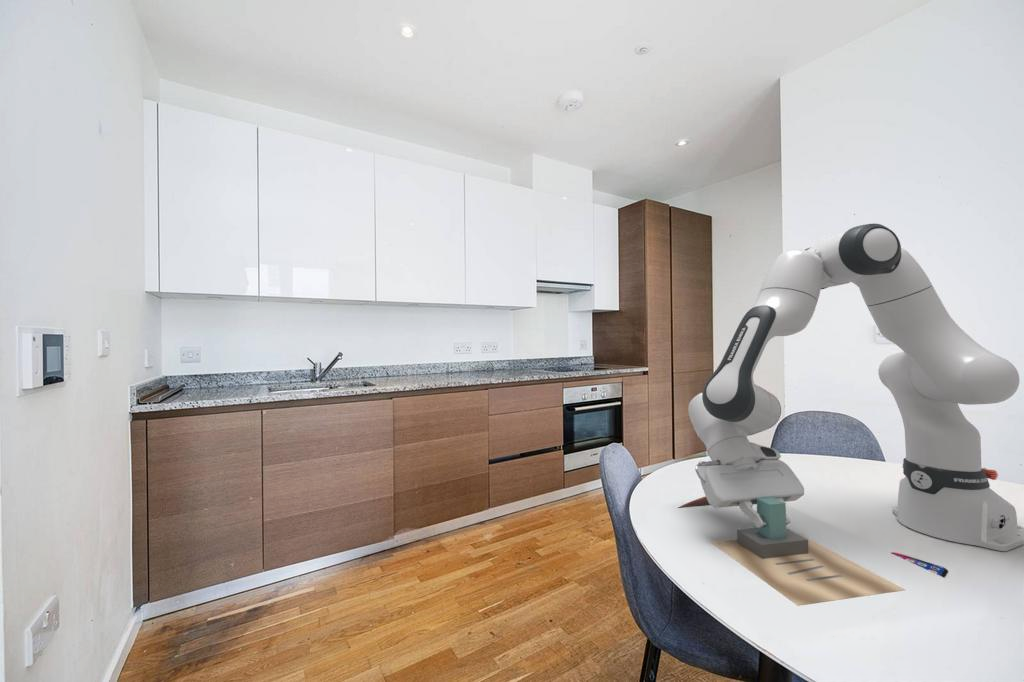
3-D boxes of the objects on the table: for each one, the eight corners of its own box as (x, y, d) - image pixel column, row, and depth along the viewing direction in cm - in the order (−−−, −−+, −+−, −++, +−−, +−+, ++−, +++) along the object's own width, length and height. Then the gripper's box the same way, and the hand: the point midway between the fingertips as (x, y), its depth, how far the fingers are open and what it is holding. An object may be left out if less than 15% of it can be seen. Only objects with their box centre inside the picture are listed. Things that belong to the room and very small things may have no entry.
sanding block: (780, 537, 78) (780, 492, 78) (808, 553, 72) (807, 504, 72) (737, 542, 76) (736, 496, 76) (761, 558, 70) (760, 509, 71)
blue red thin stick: (865, 575, 67) (891, 550, 75) (865, 579, 67) (891, 553, 75) (928, 598, 61) (949, 568, 69) (928, 603, 61) (949, 572, 69)
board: (797, 540, 80) (797, 532, 80) (905, 599, 61) (905, 589, 61) (711, 549, 76) (711, 542, 76) (798, 615, 58) (797, 605, 58)
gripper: (698, 454, 79) (734, 523, 70) (783, 449, 83) (829, 514, 73) (685, 469, 84) (717, 536, 74) (767, 463, 87) (808, 527, 78)
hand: (774, 525), depth 74 cm, fingers closed on sanding block, 3 cm apart
